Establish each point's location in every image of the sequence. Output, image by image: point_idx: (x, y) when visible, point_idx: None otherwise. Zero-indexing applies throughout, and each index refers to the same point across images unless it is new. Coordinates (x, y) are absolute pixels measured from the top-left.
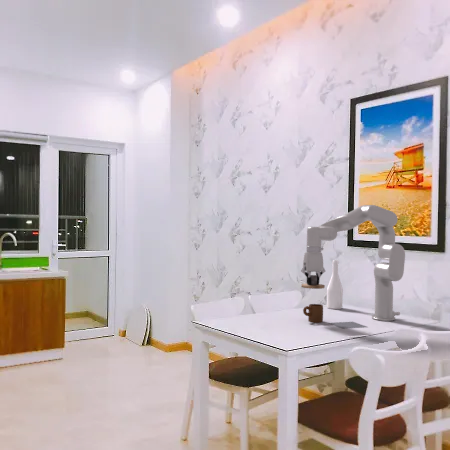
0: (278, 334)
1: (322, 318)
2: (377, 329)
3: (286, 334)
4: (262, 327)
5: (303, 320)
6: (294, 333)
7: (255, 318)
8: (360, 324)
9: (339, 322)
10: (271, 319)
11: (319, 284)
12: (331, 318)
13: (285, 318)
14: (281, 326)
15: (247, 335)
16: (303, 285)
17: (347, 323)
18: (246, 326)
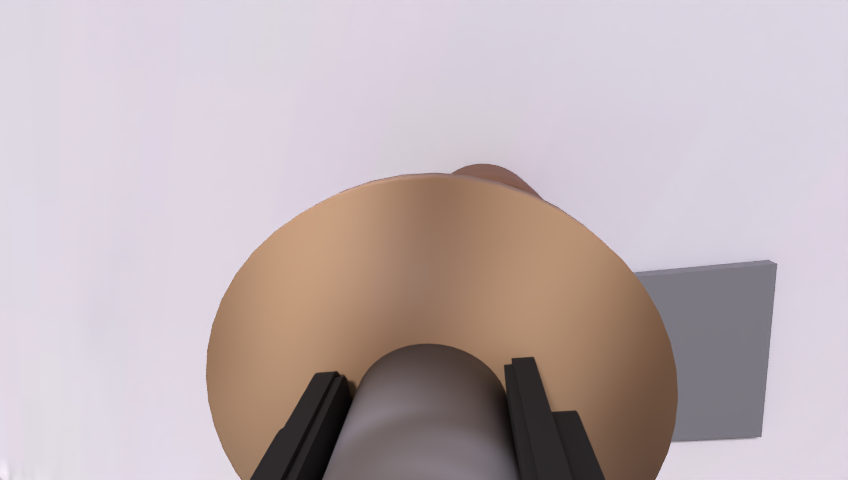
0: (170, 468)
1: None
2: (800, 454)
3: (210, 474)
4: (98, 311)
5: (419, 119)
6: None
7: (54, 3)
8: (763, 362)
9: (645, 281)
10: (175, 57)
11: (610, 362)
12: (705, 50)
13: (294, 21)
14: (214, 300)
15: (23, 463)
16: (224, 444)
17: (686, 319)
18: (5, 274)
